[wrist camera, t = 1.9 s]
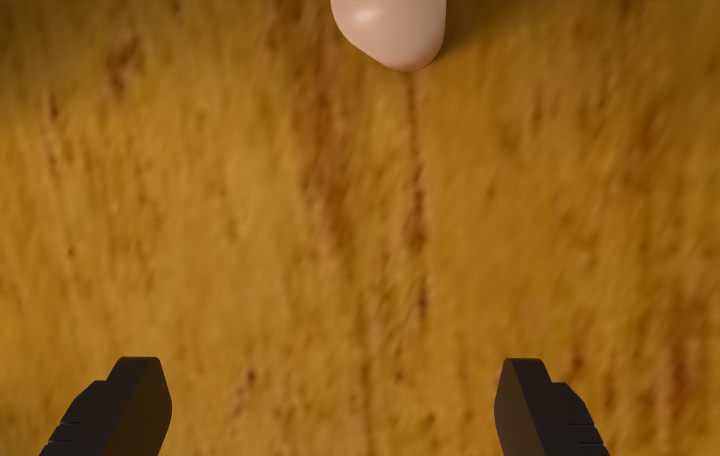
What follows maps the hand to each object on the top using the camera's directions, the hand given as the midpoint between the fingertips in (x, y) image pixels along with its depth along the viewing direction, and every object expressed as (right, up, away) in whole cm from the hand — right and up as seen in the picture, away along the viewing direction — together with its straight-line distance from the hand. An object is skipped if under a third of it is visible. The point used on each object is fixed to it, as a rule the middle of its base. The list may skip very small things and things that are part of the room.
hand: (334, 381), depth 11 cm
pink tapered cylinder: (+3, +15, +16) cm, 22 cm away
